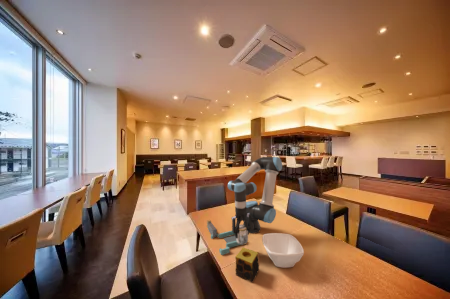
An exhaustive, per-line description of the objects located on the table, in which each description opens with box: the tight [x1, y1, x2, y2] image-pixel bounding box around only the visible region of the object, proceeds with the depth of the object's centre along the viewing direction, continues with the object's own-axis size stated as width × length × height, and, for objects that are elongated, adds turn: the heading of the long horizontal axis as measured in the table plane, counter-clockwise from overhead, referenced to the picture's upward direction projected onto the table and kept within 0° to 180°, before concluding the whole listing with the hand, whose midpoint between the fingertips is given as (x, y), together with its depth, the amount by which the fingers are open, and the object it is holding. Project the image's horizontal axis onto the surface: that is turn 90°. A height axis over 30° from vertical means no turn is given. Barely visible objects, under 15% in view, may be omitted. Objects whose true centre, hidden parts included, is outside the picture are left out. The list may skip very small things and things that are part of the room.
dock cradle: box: [210, 230, 242, 256], centre depth 115 cm, size 21×23×3 cm
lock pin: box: [206, 219, 218, 239], centre depth 129 cm, size 3×17×7 cm, turn 23°
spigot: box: [238, 223, 248, 245], centre depth 103 cm, size 6×6×10 cm
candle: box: [235, 247, 260, 283], centre depth 85 cm, size 10×10×10 cm
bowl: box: [261, 232, 305, 268], centre depth 93 cm, size 22×22×12 cm
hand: (242, 240), depth 103 cm, fingers closed on spigot, 6 cm apart
